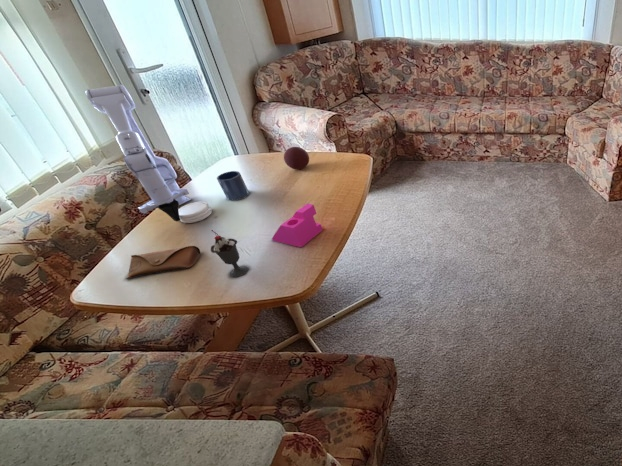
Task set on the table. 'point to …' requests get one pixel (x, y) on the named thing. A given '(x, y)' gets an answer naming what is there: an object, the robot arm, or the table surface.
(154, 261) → the sunglasses case
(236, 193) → the cup
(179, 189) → the robot arm
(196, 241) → the table surface
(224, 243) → the sundae
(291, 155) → the decorative ball
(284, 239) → the bracket
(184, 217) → the white round dish
